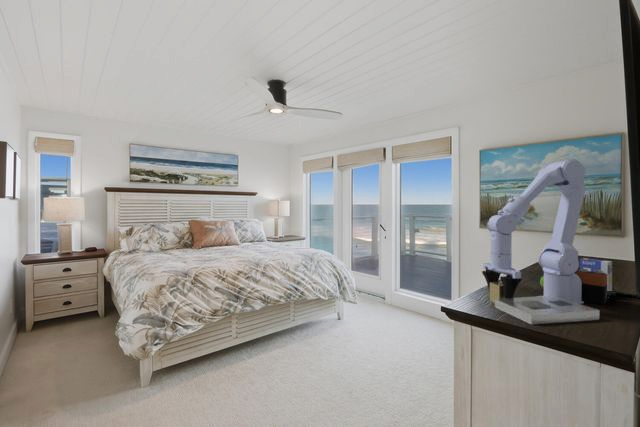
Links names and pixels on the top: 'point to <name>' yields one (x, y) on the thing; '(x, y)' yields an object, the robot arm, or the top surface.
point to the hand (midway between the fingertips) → (500, 296)
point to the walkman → (598, 268)
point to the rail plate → (546, 309)
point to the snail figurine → (542, 281)
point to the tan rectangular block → (496, 291)
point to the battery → (593, 286)
